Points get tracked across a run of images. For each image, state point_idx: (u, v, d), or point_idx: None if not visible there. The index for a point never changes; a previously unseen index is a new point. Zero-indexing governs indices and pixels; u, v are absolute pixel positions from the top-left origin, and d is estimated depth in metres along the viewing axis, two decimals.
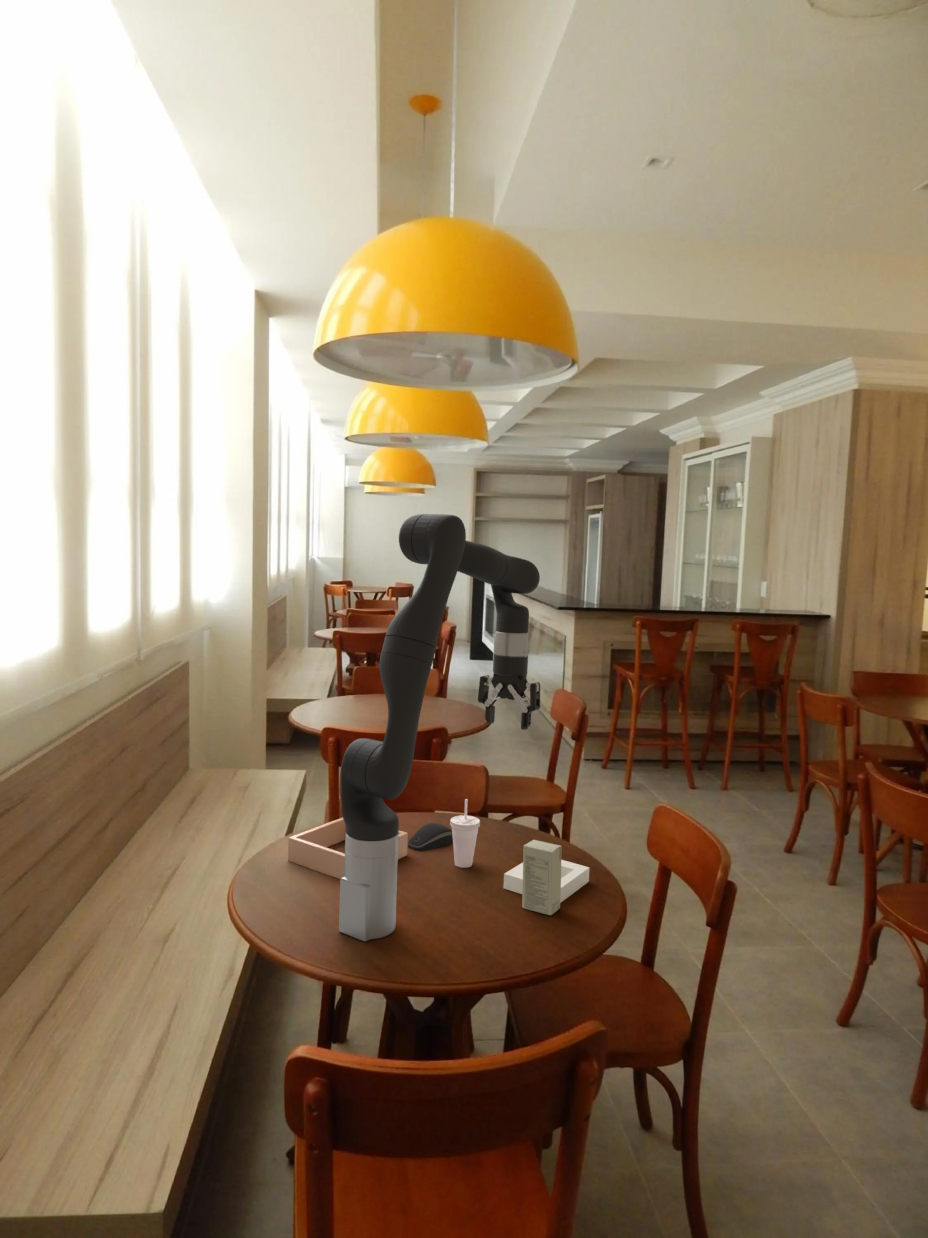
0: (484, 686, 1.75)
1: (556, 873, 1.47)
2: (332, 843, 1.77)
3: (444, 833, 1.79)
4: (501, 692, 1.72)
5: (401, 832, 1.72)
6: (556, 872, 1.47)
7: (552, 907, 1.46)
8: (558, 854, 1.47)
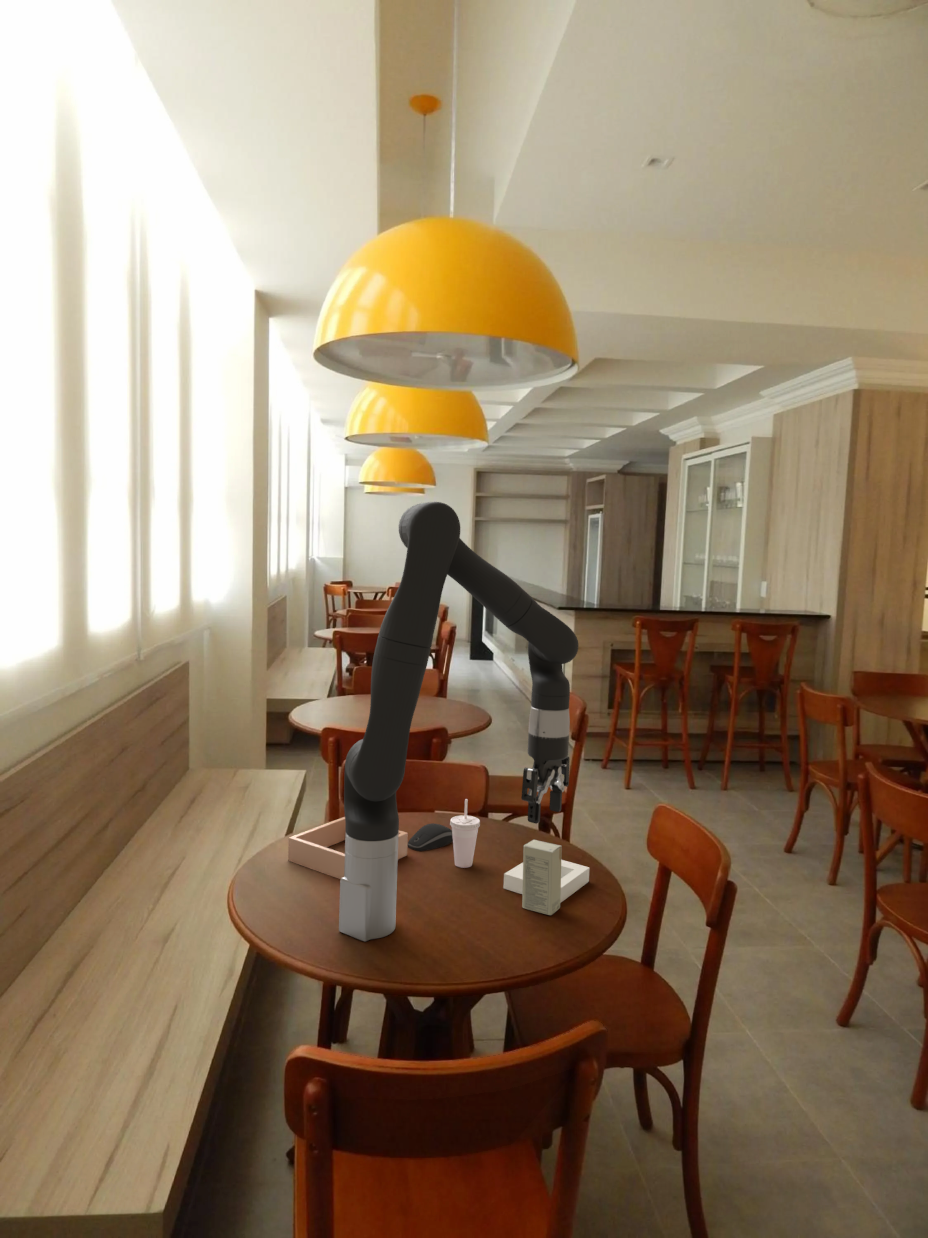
0: None
1: (556, 873, 1.47)
2: (332, 843, 1.77)
3: (444, 833, 1.79)
4: None
5: (401, 832, 1.72)
6: (556, 872, 1.47)
7: (552, 907, 1.46)
8: (558, 854, 1.47)
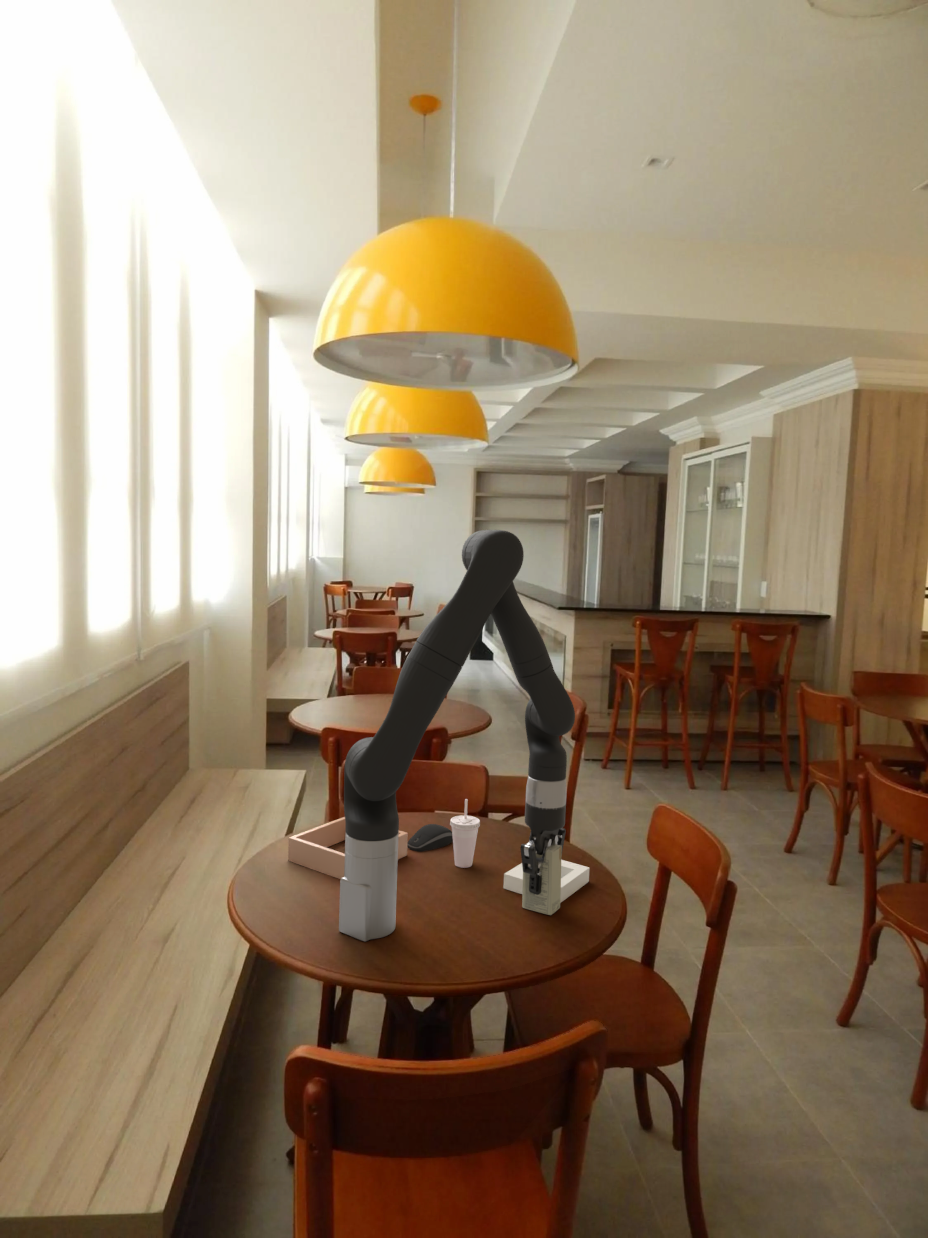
0: None
1: (556, 873, 1.47)
2: (332, 843, 1.77)
3: (443, 834, 1.79)
4: None
5: (401, 832, 1.72)
6: (556, 872, 1.47)
7: (552, 907, 1.46)
8: (558, 853, 1.47)
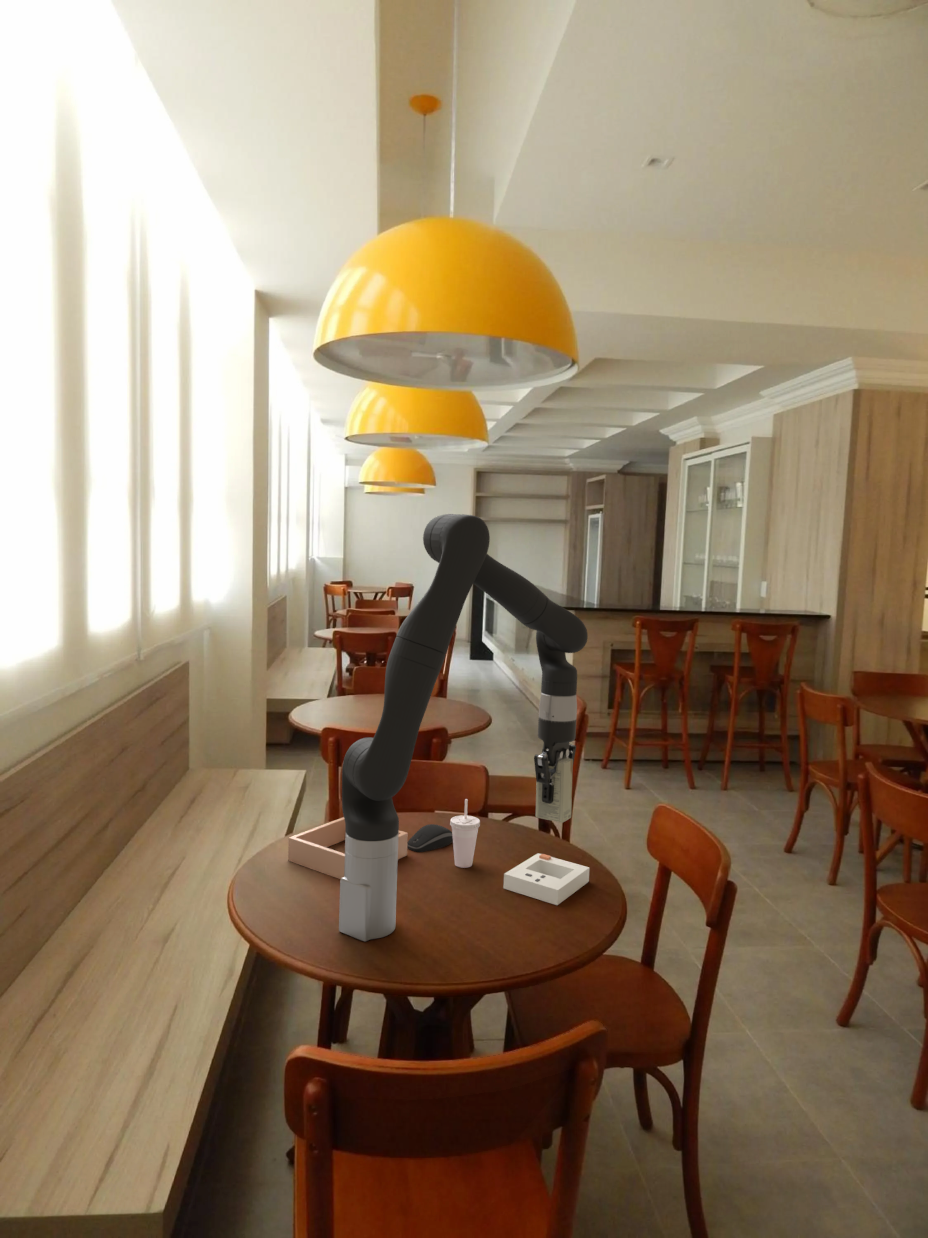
0: None
1: (568, 783, 1.57)
2: (332, 843, 1.77)
3: (443, 834, 1.79)
4: None
5: (401, 832, 1.72)
6: (567, 782, 1.57)
7: (563, 815, 1.56)
8: (569, 765, 1.57)
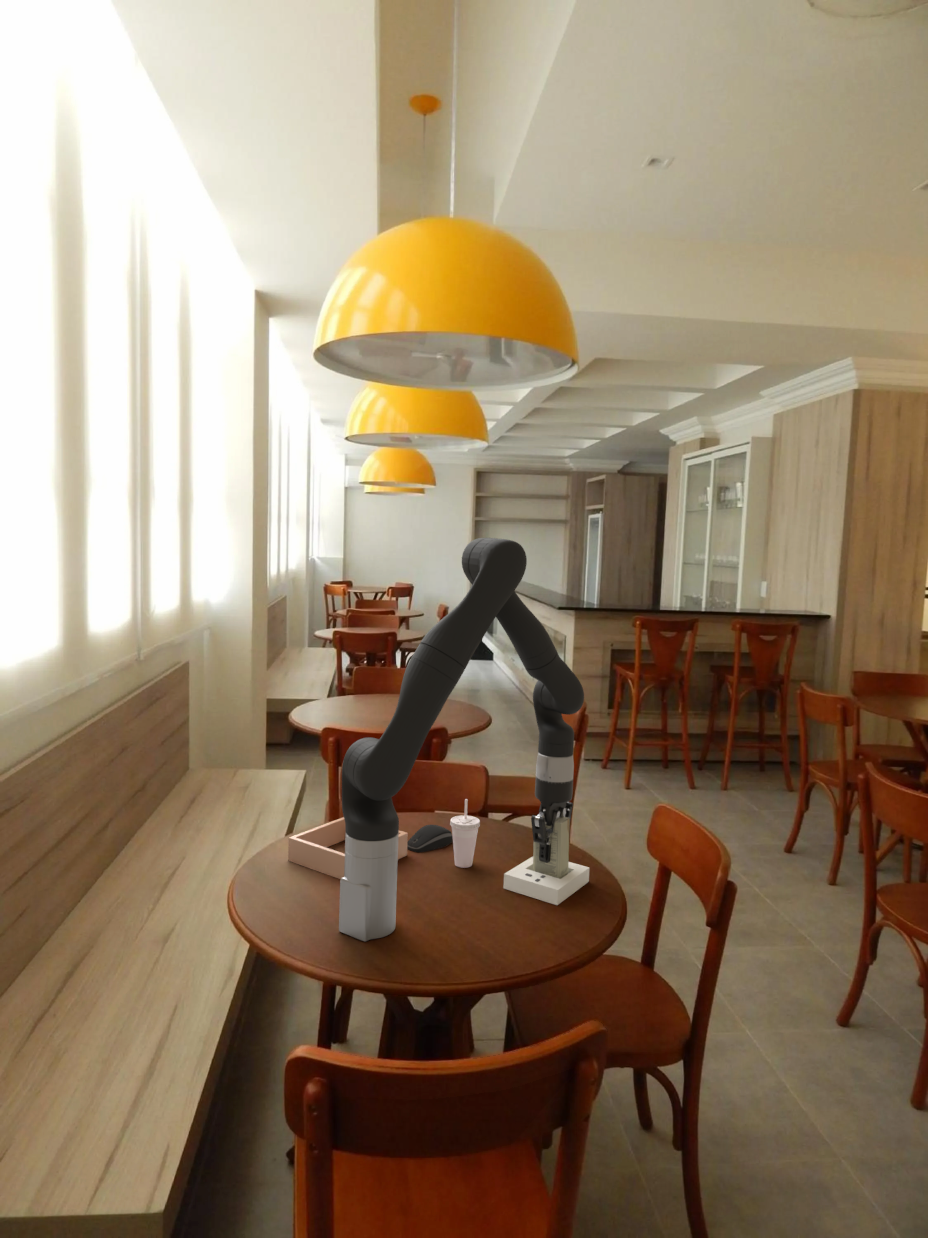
0: None
1: (565, 843, 1.58)
2: (332, 843, 1.77)
3: (442, 834, 1.78)
4: None
5: (401, 832, 1.72)
6: (564, 842, 1.58)
7: (560, 874, 1.58)
8: (566, 825, 1.59)
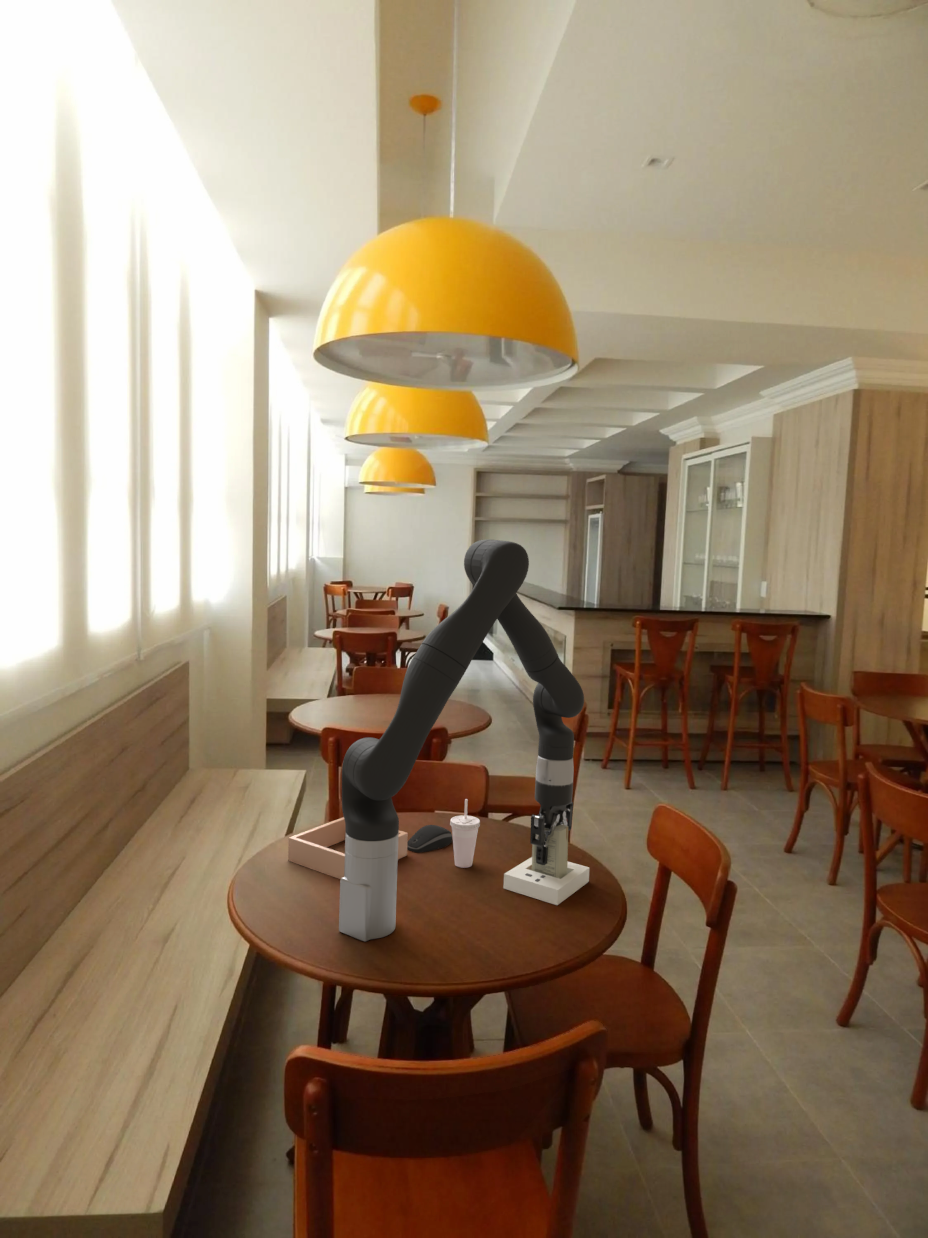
0: None
1: (563, 851, 1.58)
2: (332, 843, 1.77)
3: (442, 835, 1.78)
4: None
5: (401, 832, 1.72)
6: (562, 850, 1.58)
7: None
8: (565, 833, 1.58)
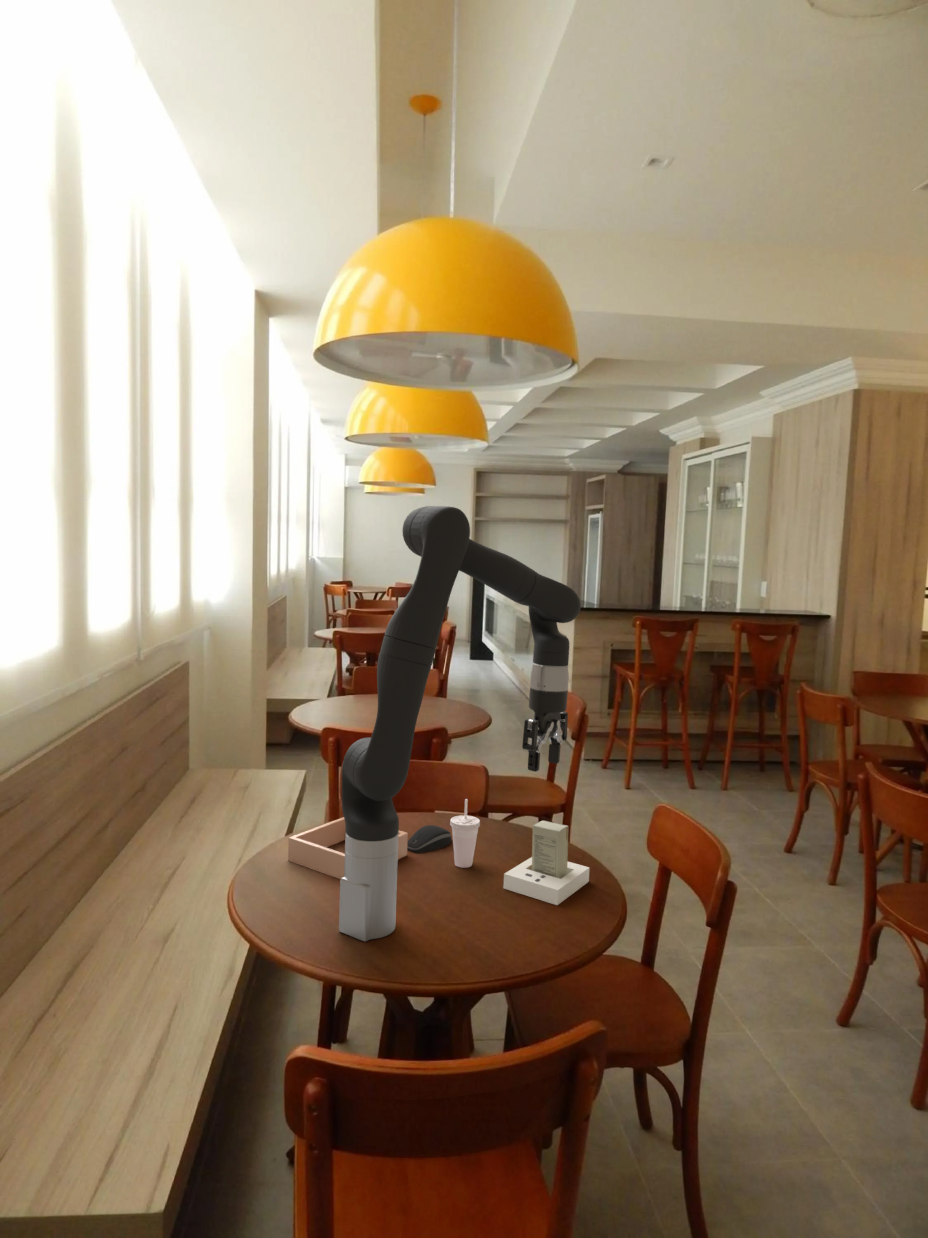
0: None
1: (563, 851, 1.58)
2: (332, 843, 1.77)
3: (441, 835, 1.78)
4: None
5: (401, 832, 1.72)
6: (563, 850, 1.58)
7: None
8: (565, 833, 1.58)
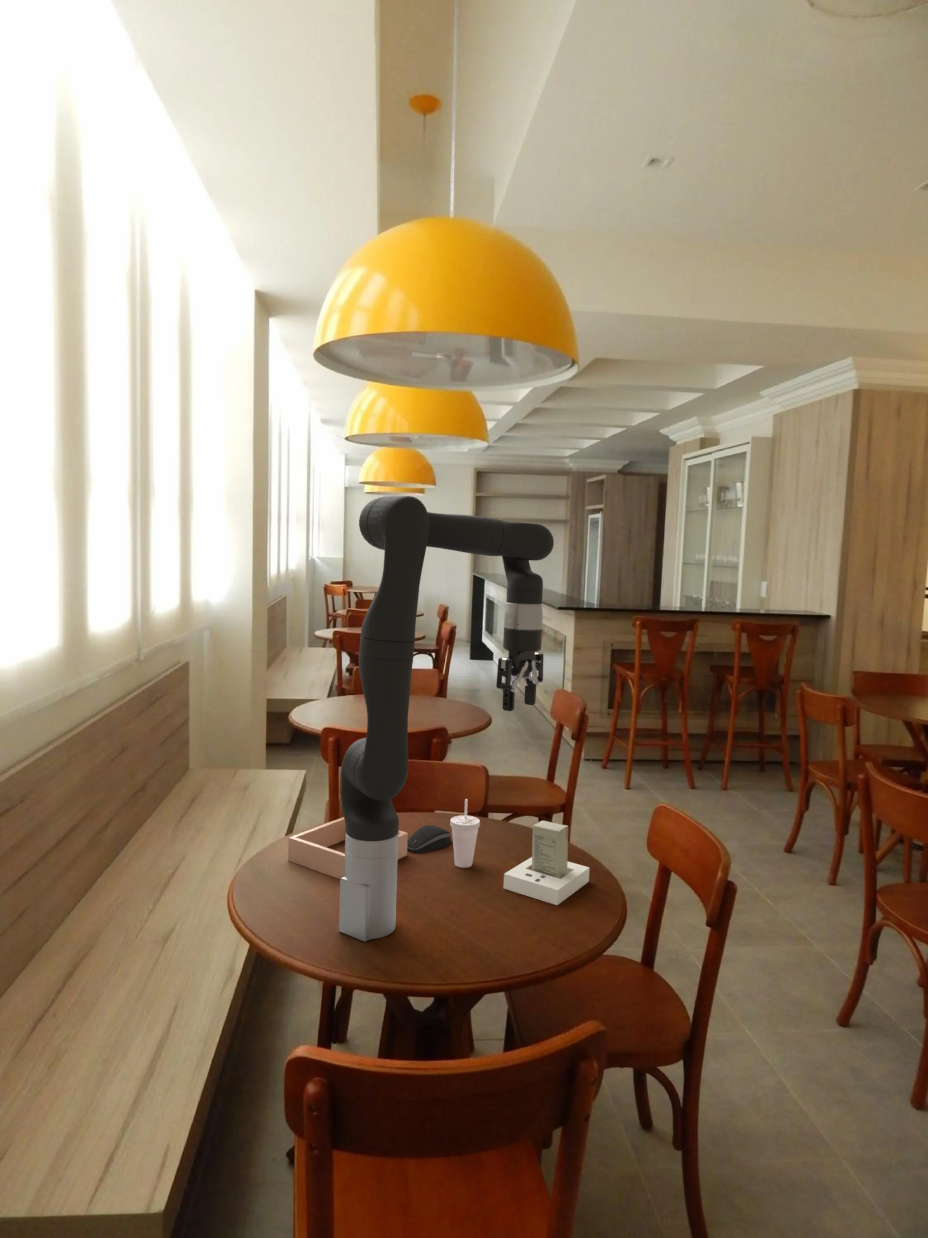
0: None
1: (563, 851, 1.58)
2: (332, 843, 1.77)
3: (441, 835, 1.78)
4: None
5: (401, 832, 1.72)
6: (562, 850, 1.58)
7: None
8: (565, 833, 1.58)
